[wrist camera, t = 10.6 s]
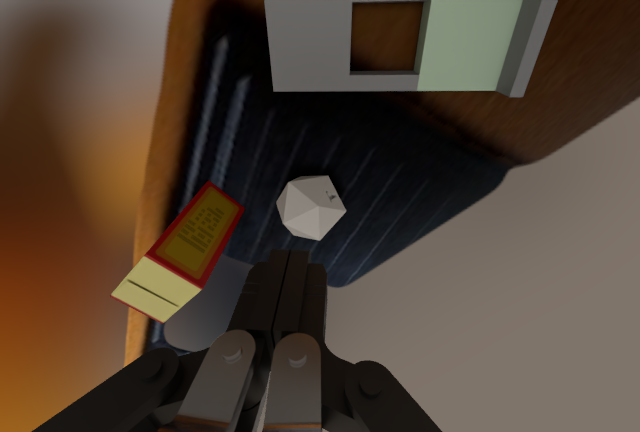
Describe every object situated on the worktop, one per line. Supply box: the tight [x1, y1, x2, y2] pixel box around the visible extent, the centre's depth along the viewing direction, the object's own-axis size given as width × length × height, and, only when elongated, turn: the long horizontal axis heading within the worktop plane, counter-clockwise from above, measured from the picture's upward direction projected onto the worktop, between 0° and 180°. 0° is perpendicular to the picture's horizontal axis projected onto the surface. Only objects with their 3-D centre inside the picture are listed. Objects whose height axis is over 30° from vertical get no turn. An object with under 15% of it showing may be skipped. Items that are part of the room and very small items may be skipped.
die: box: [276, 176, 346, 241], centre depth 38 cm, size 8×9×10 cm
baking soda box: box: [110, 180, 245, 324], centre depth 37 cm, size 10×6×16 cm
